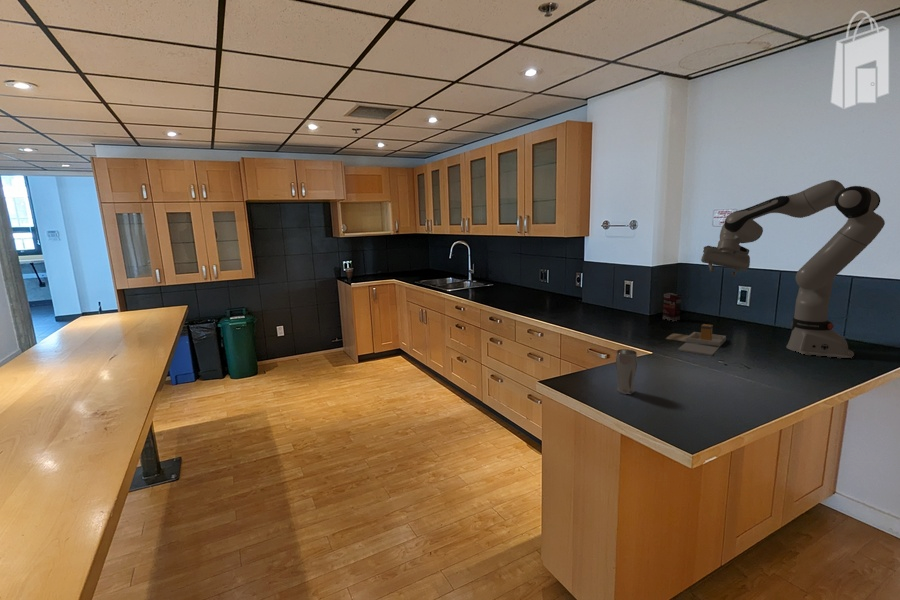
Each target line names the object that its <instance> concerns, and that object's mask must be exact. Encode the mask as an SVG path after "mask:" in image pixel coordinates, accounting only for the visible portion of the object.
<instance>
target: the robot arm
mask: <svg viewBox="0 0 900 600" xmlns="http://www.w3.org/2000/svg"><path fill="white" fill-rule="evenodd" d="M880 204H881V197H880V195H879V193H878V192H876V191H874V190H873V189H871V188H870V187H866V186H861V185H852V186H851V185H850V186H849V187H845V186H844V185H843V184H842V182H840V181H839V180H835V179H829V180H826V181H823V182H820V183H817V184H814V185H812V186H810V187H808V188H806V189H804V190H801V191H799V192H796V193H793V194H788V195H780V196H776V197H773V198H770V199H768V200H767V199H766V200H765V201H762V202H760V203H757V204H755V205H752V206H749V207H747V208H744V209H740V210H735V211H733V212H731V213H729V214H728V215H727V216H726V217H725V220H724V223H723V225H722V227H721V229H720V233H719V241H718V243H717V246H711V245H707V246H706V245H705V246H703V249H702V256H701V259H700V261H701V262H702V263H703V264H708V268H709V272H710V273H713V272H714V271H715V267H713V265H714V266H718V267H724V268H728V269H733V270H734V271H732V272H731V274H730V275H731V277H736V276H737V273H738V272H739V271H741V272H742V271H744V272H746V271H748V269H749V268H750V265H751V257H750V255H749V253H750V250H749V248H746V247H744V246H743V245H740V244H748V243H754V242H756V241H758V240H759V239H760V238H761V236H762V235H763V232H764V228H763V226H761V225H760V224H759V223H758V222H757V221H755V219H758V218H761V217H763V216H767V215H769V214H782V215H785V216H788V217H793V218H798V219H802V218H803V219H804V218H806V217H810V216H812V215H813V216H814V214H816V213H818V212H821V211H823V210H825V209H828V208H831V207H836V209H837V210H838V211H839V212H840V213H841V214H842V215H843V216H844V217H845V218H847V220H846V223H845V224H844V225H843V226H842V227H841V228H840V229H839V230H837V232H836V233H835V234H834V235H833V236H832V237H831V238H830V239H829V240H828V241H827V242H826V243H825V244H824V245H823V246H822V247H821V248H820V249H819V250H818V251H817V252H816V253H815V254H814V255H813V256H812V257H810V258H809V260H808V261H806V262H805V263H804V264H803V265H802V266H801V267H800V268H799V270H797V272H796V274H795V282H796V284H797V286H798V287H799V288H798V293H797V295H796V299H795V307H794V316H793V317H792V321H791V334H790V337H789V340H788V343H787V344H786V346H785V347H786V349H788V350H790V351H792V352H795V351H796V353H798V352H799V353H798V354H800V353H801V355H803V354H805V356H811V355H816V356H815V357H821V356H827V357H826V358H831V357H837V358H836V359H841V358H851V359H853V358H854V357H855V352H854V351H853V350H851V349H849V346H848V345H849V344H848V341H847V340H846V338H844V336H842V335H840V334H839V333H837V332H836V331H835V330H833V328H834V323H833V322H832V321H829V320H828V312H829V306H830V299H831V295H832V291H833V286H834V281H835V278H836V276H837V275H839V274H840V272H842V271H843V270H844V269H845V268H846V267H847V266H848V265H849V264H850V263H852V261H853V260H855V259H856V258H857V257H858V256H859V255H860V254H861V253H862V252H863V251H864V250H865V249H866V248H867V247H868V246H869V245H870V244H871V243H872V242H873V240H876V238H877V237H878V234H880V232H881V231H882V229H883V228H884V227H885V224H886V222H885V219H884V218H883V217H882V216H881V215H880V214H878V213H877V212H875V211H876V210H877V209H878V208H879V206H880ZM853 356H854V357H853ZM852 357H853V358H852Z"/></svg>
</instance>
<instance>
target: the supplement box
mask: <svg viewBox="0 0 900 600" xmlns="http://www.w3.org/2000/svg"><path fill="white" fill-rule="evenodd" d="M681 305H682V294H679V293H673V292H666V293H663V303H662V320H665V319H667V320H666V321H670V320H672V321H671V322H674V321H676V322H678V321H677V320H680V321H681V307H682V306H681Z"/></svg>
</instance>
